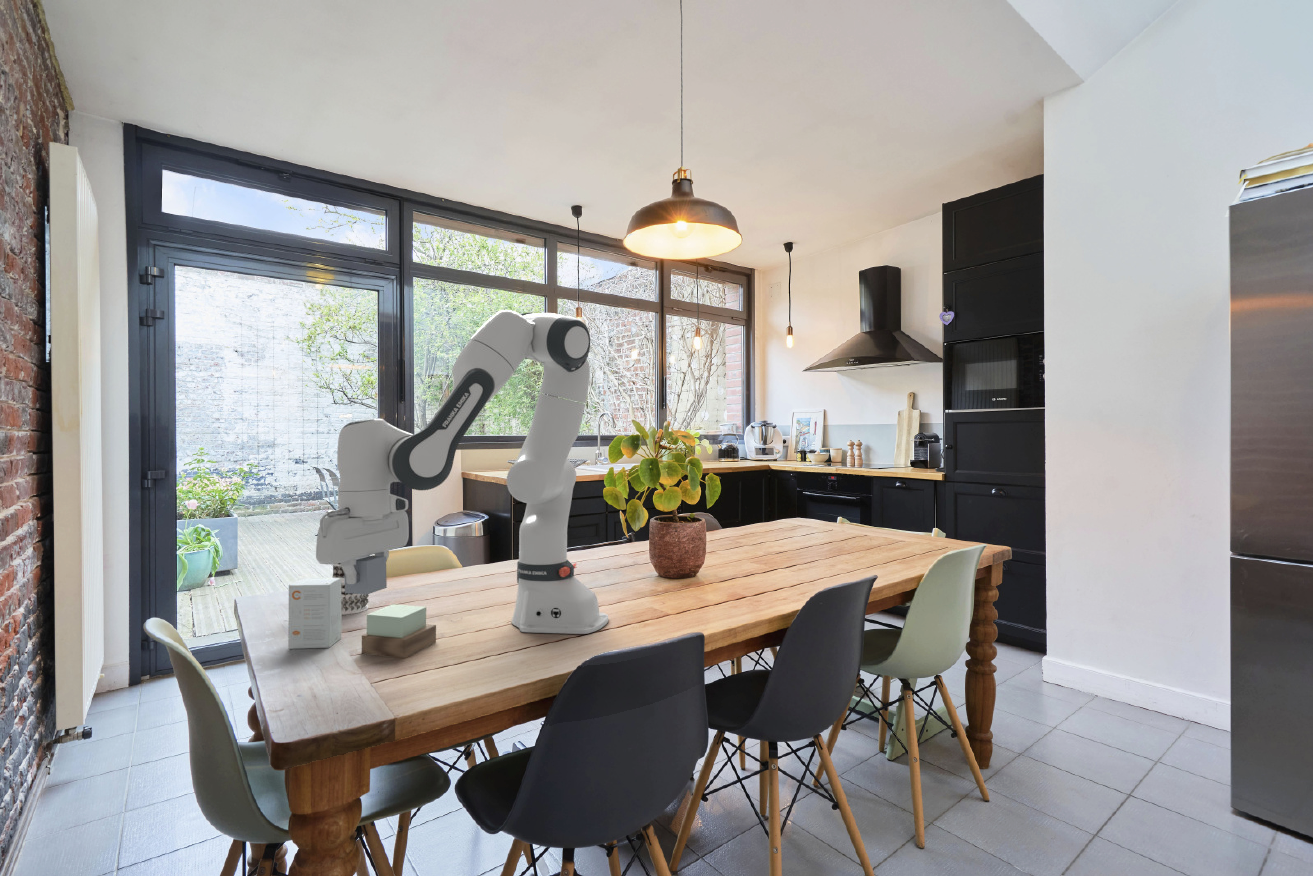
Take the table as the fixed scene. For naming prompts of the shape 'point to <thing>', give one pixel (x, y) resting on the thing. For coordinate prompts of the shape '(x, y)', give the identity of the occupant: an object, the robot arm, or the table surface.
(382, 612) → the tower top
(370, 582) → the block
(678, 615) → the table surface
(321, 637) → the small box
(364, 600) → the decorative candle
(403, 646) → the tower base
